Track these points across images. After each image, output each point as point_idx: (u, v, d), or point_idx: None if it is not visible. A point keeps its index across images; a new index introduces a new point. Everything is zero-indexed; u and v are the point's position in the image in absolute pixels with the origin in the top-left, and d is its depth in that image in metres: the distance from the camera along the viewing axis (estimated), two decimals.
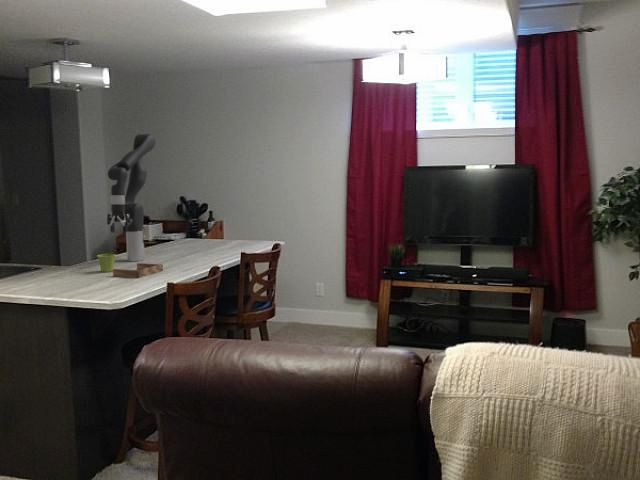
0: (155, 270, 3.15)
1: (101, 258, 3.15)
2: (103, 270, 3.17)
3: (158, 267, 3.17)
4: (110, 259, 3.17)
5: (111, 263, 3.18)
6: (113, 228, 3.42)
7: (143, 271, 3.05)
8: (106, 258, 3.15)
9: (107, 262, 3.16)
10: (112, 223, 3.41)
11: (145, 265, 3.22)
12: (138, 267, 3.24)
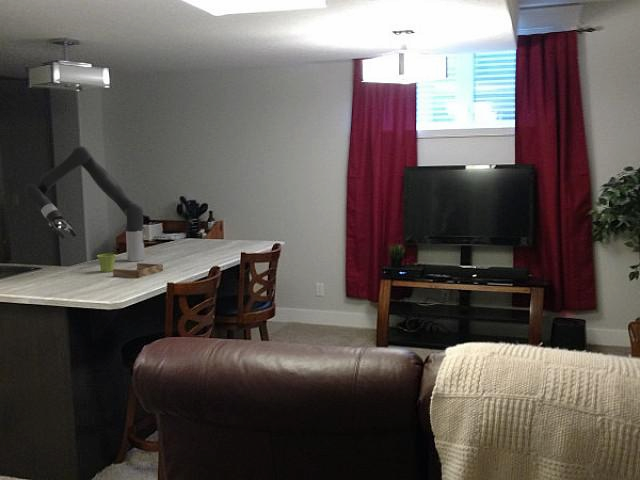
0: (155, 270, 3.15)
1: (101, 258, 3.15)
2: (103, 270, 3.17)
3: (158, 267, 3.17)
4: (110, 259, 3.17)
5: (111, 263, 3.18)
6: (72, 232, 3.30)
7: (143, 271, 3.05)
8: (106, 258, 3.15)
9: (107, 262, 3.16)
10: None
11: (145, 265, 3.22)
12: (138, 267, 3.24)
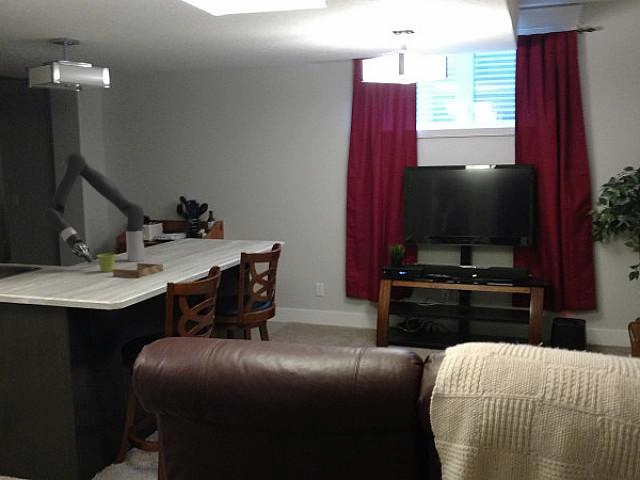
0: (155, 270, 3.15)
1: (101, 258, 3.15)
2: (103, 270, 3.17)
3: (158, 267, 3.17)
4: (110, 259, 3.17)
5: (111, 263, 3.18)
6: None
7: (143, 271, 3.05)
8: (106, 258, 3.15)
9: (107, 262, 3.16)
10: None
11: (145, 265, 3.22)
12: (138, 267, 3.24)
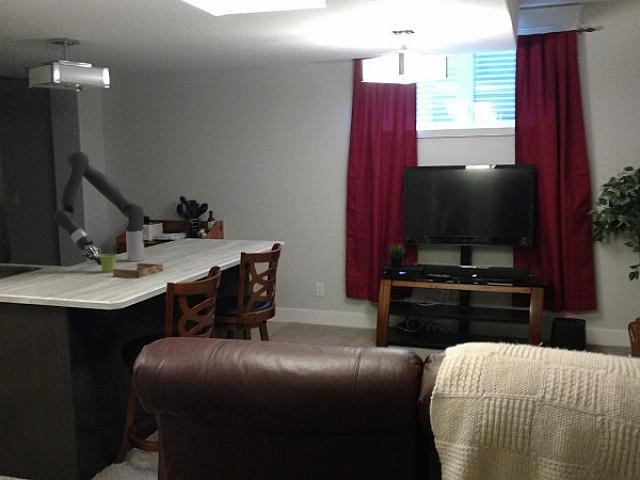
0: (155, 270, 3.15)
1: (102, 258, 3.15)
2: (104, 270, 3.17)
3: (158, 267, 3.17)
4: (111, 259, 3.16)
5: (112, 263, 3.18)
6: None
7: (143, 271, 3.05)
8: (108, 258, 3.15)
9: (108, 262, 3.16)
10: None
11: (145, 265, 3.22)
12: (138, 267, 3.24)
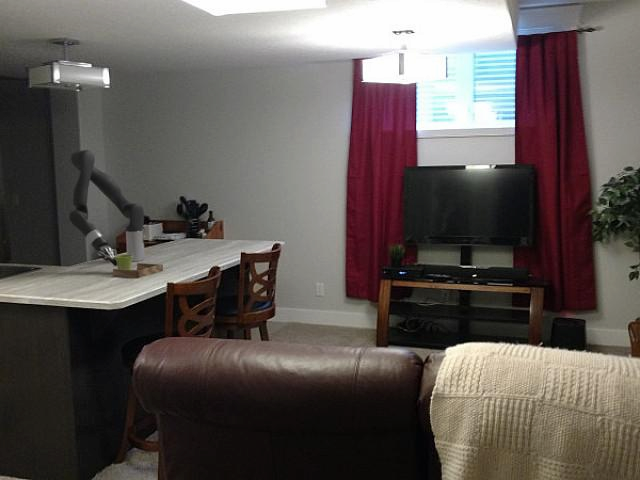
0: (155, 270, 3.15)
1: (120, 259, 3.12)
2: None
3: (158, 267, 3.17)
4: (129, 260, 3.14)
5: (129, 264, 3.15)
6: None
7: (143, 271, 3.05)
8: (125, 259, 3.12)
9: (126, 263, 3.13)
10: None
11: (145, 265, 3.22)
12: (138, 267, 3.24)
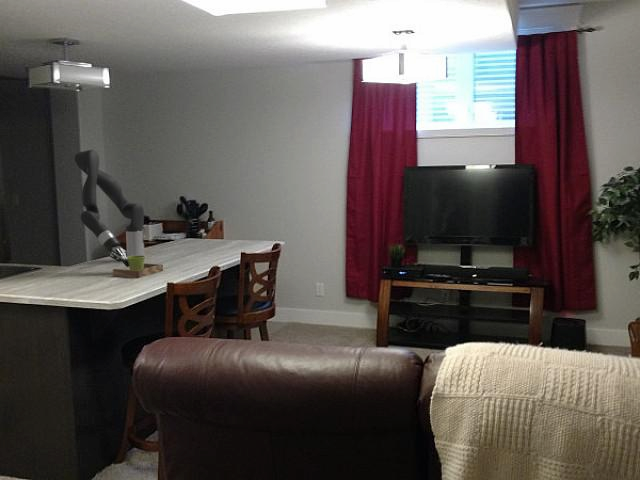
0: (155, 270, 3.15)
1: (132, 260, 3.09)
2: None
3: (158, 267, 3.17)
4: (141, 261, 3.11)
5: (142, 265, 3.12)
6: None
7: (143, 271, 3.05)
8: (138, 260, 3.10)
9: (138, 264, 3.11)
10: None
11: (145, 265, 3.22)
12: None
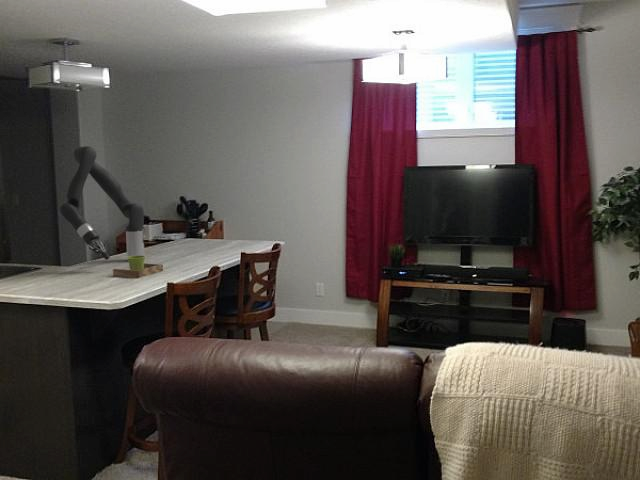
0: (155, 270, 3.15)
1: (133, 260, 3.09)
2: None
3: (158, 267, 3.17)
4: (141, 261, 3.11)
5: (142, 265, 3.12)
6: None
7: (143, 271, 3.05)
8: (138, 260, 3.10)
9: (139, 264, 3.10)
10: None
11: (145, 265, 3.22)
12: None
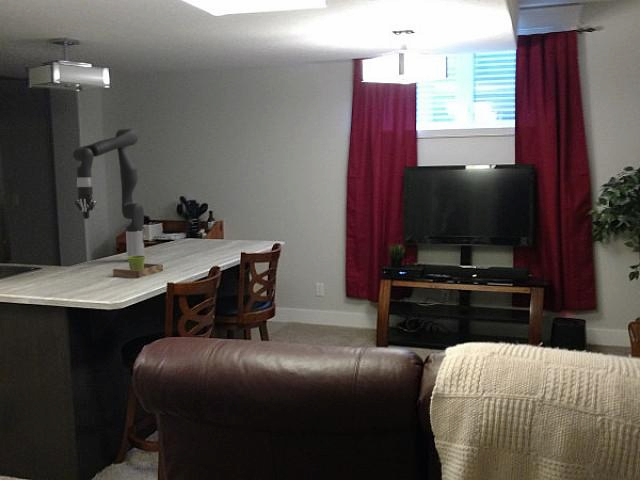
0: (155, 270, 3.15)
1: (133, 260, 3.09)
2: None
3: (158, 267, 3.17)
4: (141, 261, 3.11)
5: (142, 265, 3.12)
6: None
7: (143, 271, 3.05)
8: (138, 260, 3.10)
9: (139, 264, 3.11)
10: (83, 208, 3.24)
11: (145, 265, 3.22)
12: None
